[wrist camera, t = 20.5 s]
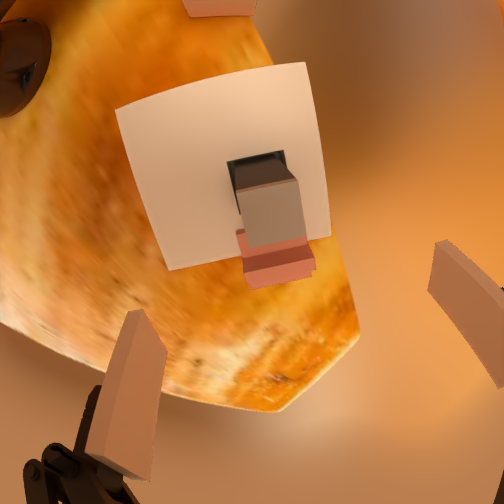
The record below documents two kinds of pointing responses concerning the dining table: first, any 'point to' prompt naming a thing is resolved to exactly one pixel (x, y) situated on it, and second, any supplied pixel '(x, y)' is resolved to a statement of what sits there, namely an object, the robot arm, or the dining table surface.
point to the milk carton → (219, 7)
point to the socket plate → (221, 156)
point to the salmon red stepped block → (276, 261)
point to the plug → (268, 201)
